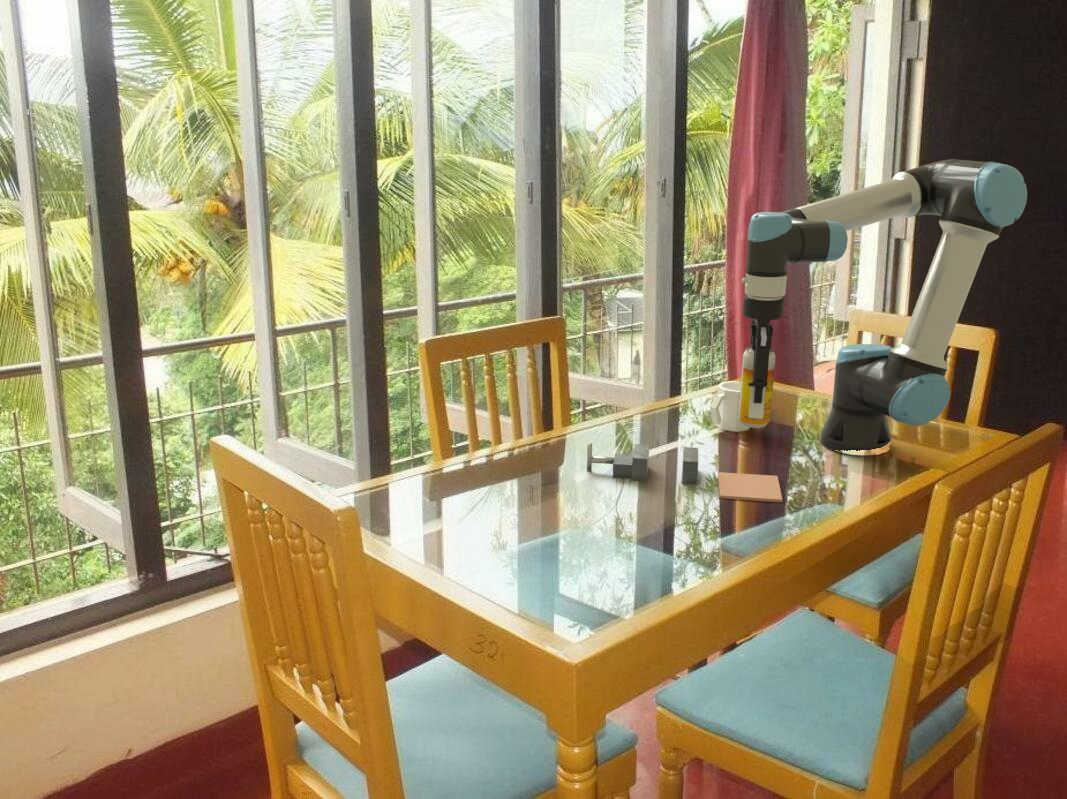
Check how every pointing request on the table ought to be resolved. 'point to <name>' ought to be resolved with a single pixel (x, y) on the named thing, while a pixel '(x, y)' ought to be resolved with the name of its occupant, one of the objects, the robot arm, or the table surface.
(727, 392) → the mug
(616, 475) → the vise
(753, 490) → the coaster
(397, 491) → the table surface
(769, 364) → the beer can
